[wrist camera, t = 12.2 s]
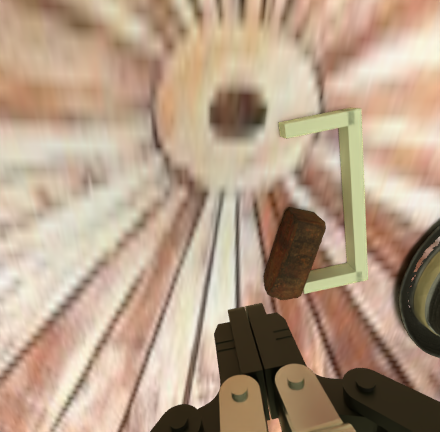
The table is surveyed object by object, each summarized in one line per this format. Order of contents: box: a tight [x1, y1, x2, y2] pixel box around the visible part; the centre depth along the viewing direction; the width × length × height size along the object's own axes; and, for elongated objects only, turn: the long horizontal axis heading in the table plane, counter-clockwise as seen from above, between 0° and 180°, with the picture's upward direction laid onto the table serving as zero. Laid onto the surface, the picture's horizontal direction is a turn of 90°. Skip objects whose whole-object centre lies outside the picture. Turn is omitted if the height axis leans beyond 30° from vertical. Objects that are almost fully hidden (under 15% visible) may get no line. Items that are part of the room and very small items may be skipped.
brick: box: [264, 208, 326, 300], centre depth 41 cm, size 11×4×5 cm, turn 166°
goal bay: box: [278, 108, 368, 294], centre depth 40 cm, size 8×21×2 cm, turn 11°
